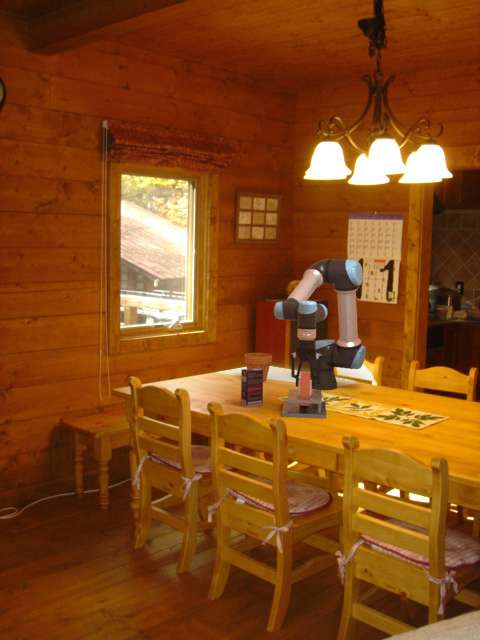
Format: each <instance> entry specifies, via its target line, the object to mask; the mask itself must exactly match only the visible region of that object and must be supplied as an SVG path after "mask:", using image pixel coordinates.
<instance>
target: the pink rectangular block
mask: <svg viewBox="0 0 480 640" xmlns="http://www.w3.org/2000/svg"><path fill="white" fill-rule="evenodd" d="M299 378H300V399H310V369H309V370H303V369H301V371H300V375H299ZM300 405H303V406H309V403H300Z"/></svg>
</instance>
